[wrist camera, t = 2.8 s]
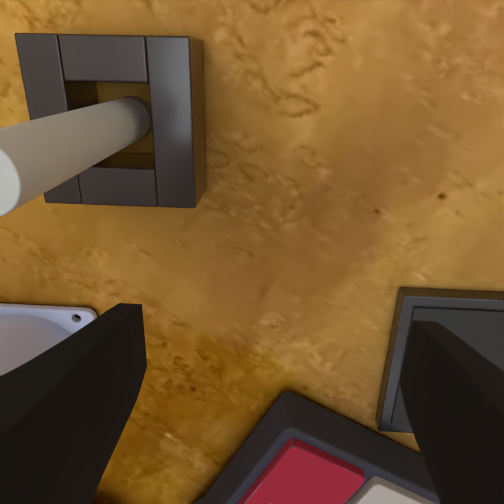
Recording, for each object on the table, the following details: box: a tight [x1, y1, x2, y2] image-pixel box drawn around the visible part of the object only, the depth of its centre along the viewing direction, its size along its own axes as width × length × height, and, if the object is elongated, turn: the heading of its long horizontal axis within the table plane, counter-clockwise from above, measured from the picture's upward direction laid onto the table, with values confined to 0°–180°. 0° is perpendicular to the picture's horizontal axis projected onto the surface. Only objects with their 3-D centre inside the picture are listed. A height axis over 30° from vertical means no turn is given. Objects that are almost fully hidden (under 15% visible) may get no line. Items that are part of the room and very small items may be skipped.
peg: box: [0, 96, 152, 216], centre depth 14 cm, size 2×2×11 cm
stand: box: [15, 33, 207, 208], centre depth 18 cm, size 6×6×3 cm
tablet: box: [376, 287, 504, 433], centre depth 23 cm, size 12×9×1 cm
